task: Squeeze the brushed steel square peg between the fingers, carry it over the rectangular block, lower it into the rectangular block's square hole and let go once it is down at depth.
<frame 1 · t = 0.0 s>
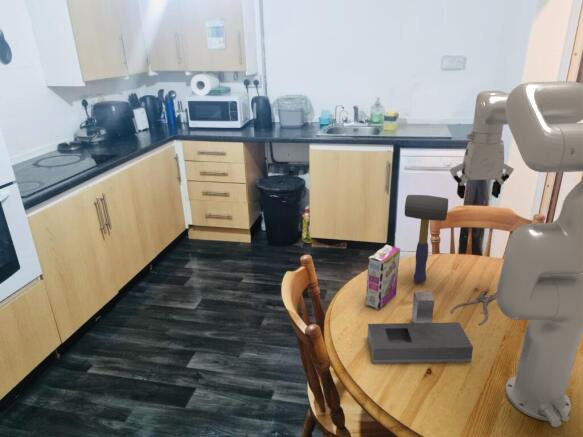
hand: (477, 196, 125), 31 cm above the table, tool pointing down, fingers open, 9 cm apart
rubber mallet: (419, 282, 142), on the table
steel peg: (421, 323, 122), on the table
candy bar box: (381, 300, 133), on the table
pliers: (473, 305, 130), on the table
rectangular block: (416, 349, 112), on the table
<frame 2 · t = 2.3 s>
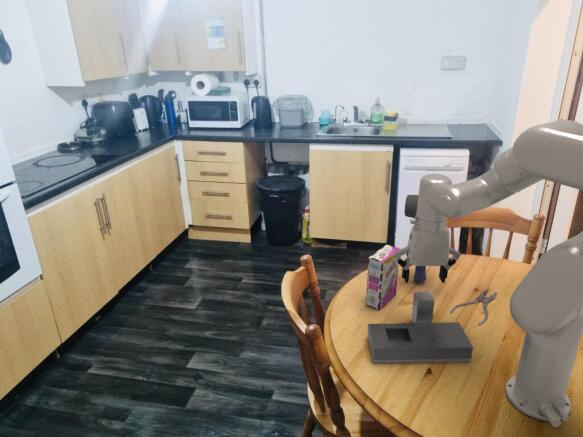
hand: (423, 280, 117), 14 cm above the table, tool pointing down, fingers open, 9 cm apart
nothing on the table moved.
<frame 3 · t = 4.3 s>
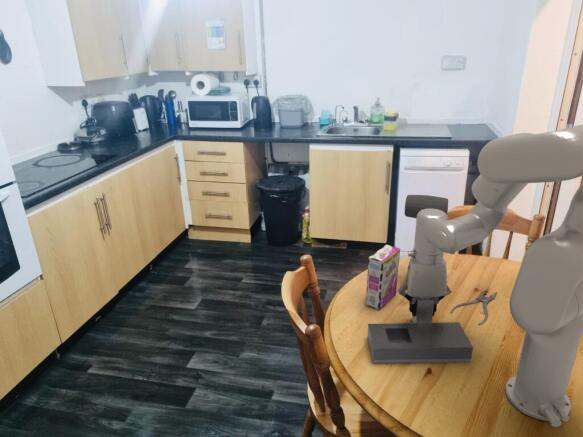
hand: (422, 313, 121), 3 cm above the table, tool pointing down, fingers closed on steel peg, 4 cm apart
steel peg: (421, 323, 122), on the table, touching gripper
everything else where it was.
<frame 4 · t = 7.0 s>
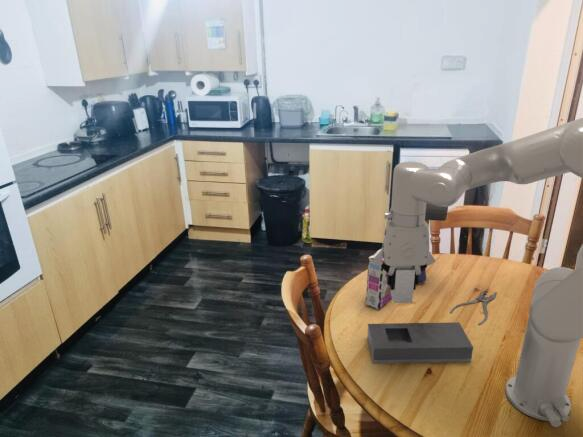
hand: (402, 286, 105), 19 cm above the table, tool pointing down, fingers closed on steel peg, 4 cm apart
steel peg: (401, 297, 106), point 16 cm above the table, touching gripper
everything else where it was.
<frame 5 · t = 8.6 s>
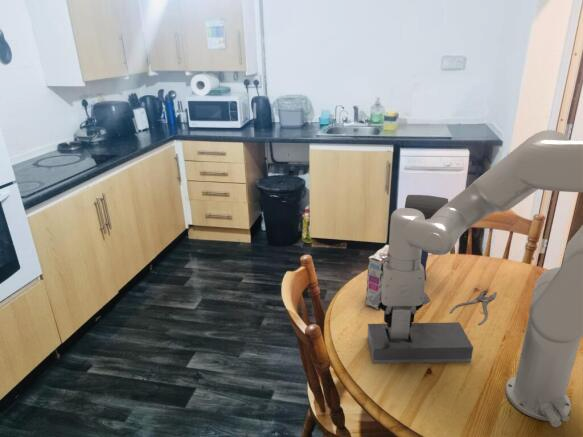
hand: (398, 323, 109), 8 cm above the table, tool pointing down, fingers closed on steel peg, 4 cm apart
steel peg: (397, 334, 110), point 5 cm above the table, touching gripper
everything else where it was.
when the fingers open (5 cm above the table, at t = 9.8 s): steel peg drops 1 cm, resting on rectangular block.
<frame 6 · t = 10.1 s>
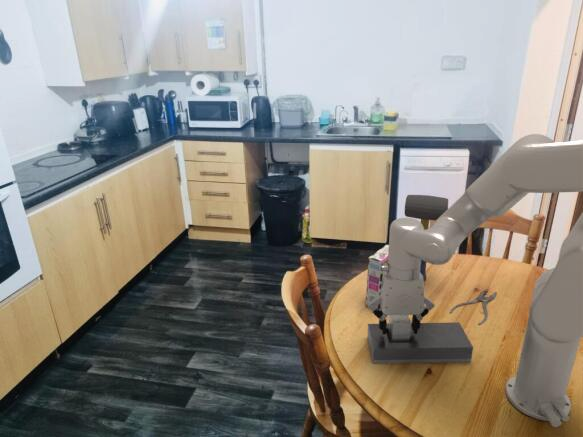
hand: (398, 330, 110), 6 cm above the table, tool pointing down, fingers open, 7 cm apart
steel peg: (397, 346, 112), point 1 cm above the table, touching rectangular block
everything else where it was.
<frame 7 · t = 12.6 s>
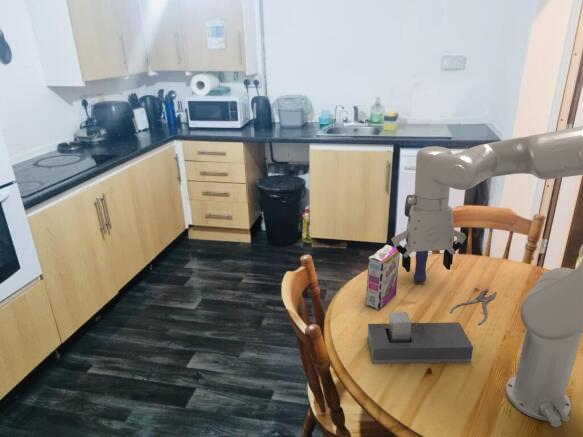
hand: (426, 268, 105), 23 cm above the table, tool pointing down, fingers open, 9 cm apart
nothing on the table moved.
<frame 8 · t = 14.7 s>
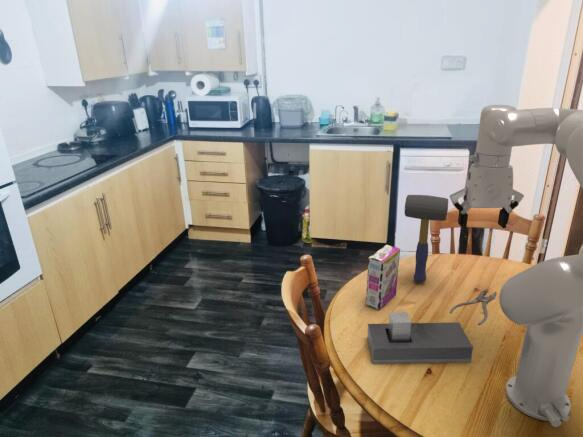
hand: (482, 226, 108), 30 cm above the table, tool pointing down, fingers open, 9 cm apart
nothing on the table moved.
at the end: steel peg 0.1 cm from the target spot on the rectangular block, point 1.0 cm above the rectangular block's base; steel peg tilted 0°; the gripper is holding nothing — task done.
